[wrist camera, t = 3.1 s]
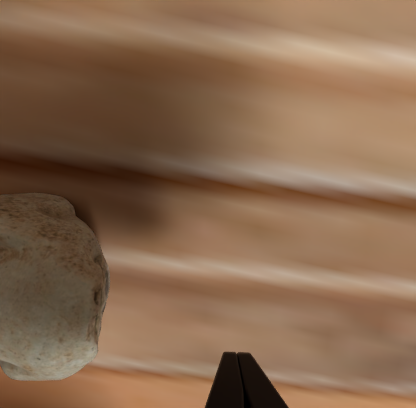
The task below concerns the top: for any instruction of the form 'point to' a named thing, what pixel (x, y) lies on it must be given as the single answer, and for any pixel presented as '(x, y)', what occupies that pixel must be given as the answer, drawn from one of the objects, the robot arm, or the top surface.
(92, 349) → the sculpture
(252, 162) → the top surface
